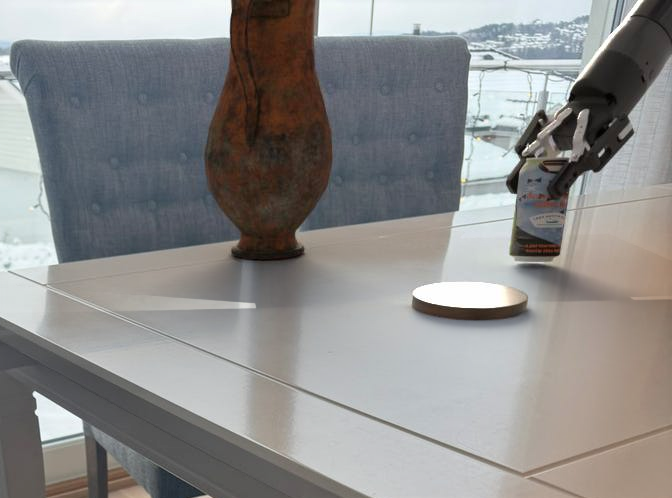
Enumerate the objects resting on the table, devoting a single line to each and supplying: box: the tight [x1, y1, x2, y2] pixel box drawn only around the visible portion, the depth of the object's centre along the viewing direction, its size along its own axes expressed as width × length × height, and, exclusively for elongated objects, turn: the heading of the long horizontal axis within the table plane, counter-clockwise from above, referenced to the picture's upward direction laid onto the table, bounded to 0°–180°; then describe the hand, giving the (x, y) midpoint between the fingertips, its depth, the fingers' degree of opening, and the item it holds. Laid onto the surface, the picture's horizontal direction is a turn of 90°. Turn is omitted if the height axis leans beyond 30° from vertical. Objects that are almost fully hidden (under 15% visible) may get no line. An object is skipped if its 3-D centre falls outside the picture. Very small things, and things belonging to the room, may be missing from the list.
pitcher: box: [203, 0, 334, 261], centre depth 117 cm, size 17×21×30 cm
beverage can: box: [508, 156, 571, 263], centre depth 114 cm, size 6×7×12 cm
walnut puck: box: [411, 281, 529, 321], centre depth 92 cm, size 11×11×3 cm
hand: (530, 191), depth 112 cm, fingers closed on beverage can, 6 cm apart
